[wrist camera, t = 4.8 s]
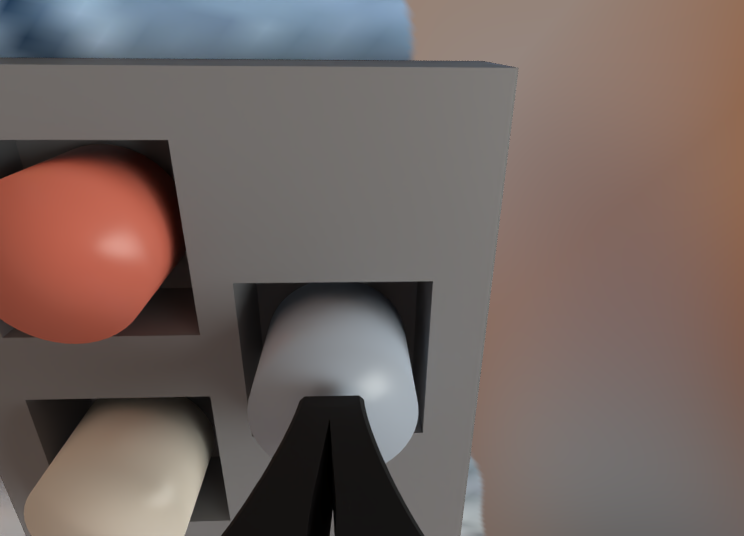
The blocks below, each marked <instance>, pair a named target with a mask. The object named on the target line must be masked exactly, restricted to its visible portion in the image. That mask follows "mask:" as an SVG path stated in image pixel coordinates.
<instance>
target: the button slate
mask: <svg viewBox="0 0 744 536" xmlns="http://www.w3.org/2000/svg"><path fill="white" fill-rule="evenodd" d="M353 395H359V396H361V397H362V398H363V399H364V403H365V408H366V413H367V416H368V420H369V423H370V426H371V429H372V432H373V435H374V438H375V440H376V443H377V445H378V448H379V450H380V452H381V455H382V457H383V459H384V461H385V463H387V462H388V461H390V460H391V459H393V458H394V457H395V456H396V455H397V454H399V453H400V452H401V451H402V449H403V448H404V447H405V446H406V445H407V443H408V442H409V440H410V439H411V437H412V435H413V433H414V431H415V428H416V425H417V420H418V402H417V396H416V391H415V385H414V380H413V374H412V369H411V363H410V358H409V352H408V347H407V341H406V336H405V330H404V325H403V322H402V319H401V316H400V314H399V313H398V311H397V309H396V308H395V306H394V305H393V304H392V302H391V301H390V300H389V299H388V298H387V297H386V296H384V295H383V294H382V293H380V292H379V291H377V290H376V289H374V288H372V287H370V286H368V285H365V284H363V283H360V282H314V283H310V284H307V285H305V286H303V287H300V288H299V289H297V290H295V291H294V292H292V293H291V294H290V295H288V296H287V297H286V298H285V299H284V300H283V301H282V302H281V303H280V304H279V306H278V307H277V309H276V310H275V312H274V314H273V316H272V318H271V322H270V325H269V328H268V332H267V335H266V339H265V343H264V346H263V350H262V353H261V357H260V360H259V364H258V368H257V371H256V375H255V378H254V382H253V385H252V389H251V393H250V396H249V400H248V407H247V414H248V421H249V426H250V429H251V431H252V434H253V436H254V438H255V439H256V441H257V443H258V444H259V445H260V446H261V448H262V449H263V450H264V451H265V452H266V453H267V454H268V455H269V456H270V457H273V456H274V454H275V452H276V450H277V448H278V447H279V445H280V443H281V441H282V439H283V437H284V435H285V433H286V431H287V429H288V427H289V425H290V423H291V421H292V419H293V416H294V414H295V412H296V409H297V406H298V404H299V401H300V400H301V399H302V398H303V397H304V396H353Z"/></svg>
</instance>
